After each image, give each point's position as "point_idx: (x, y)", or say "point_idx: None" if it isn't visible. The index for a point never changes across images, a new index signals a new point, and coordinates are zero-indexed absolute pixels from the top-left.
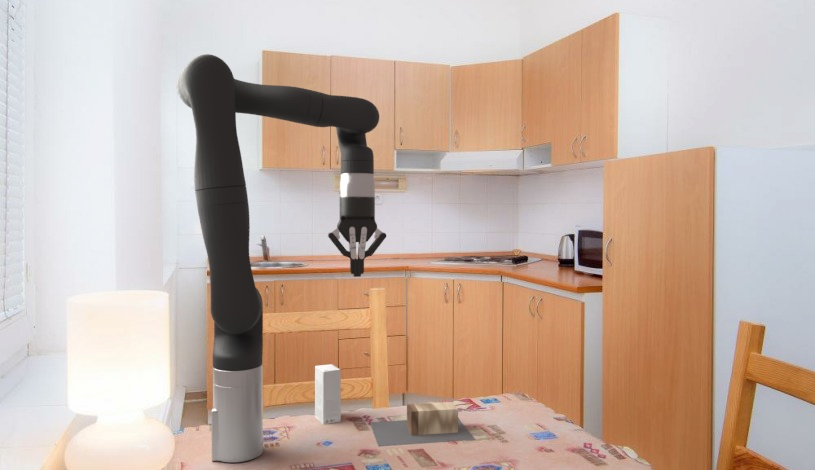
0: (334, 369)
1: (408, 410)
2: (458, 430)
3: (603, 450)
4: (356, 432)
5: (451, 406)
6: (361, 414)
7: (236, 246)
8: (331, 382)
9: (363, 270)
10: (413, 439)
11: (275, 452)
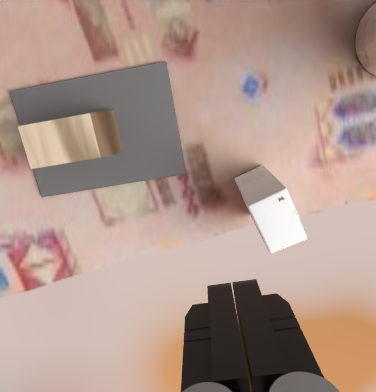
0: (262, 205)
1: (111, 139)
2: None
3: None
4: (205, 134)
5: (30, 141)
6: (201, 218)
7: None
8: (263, 188)
9: (188, 321)
10: (109, 92)
11: (333, 43)
